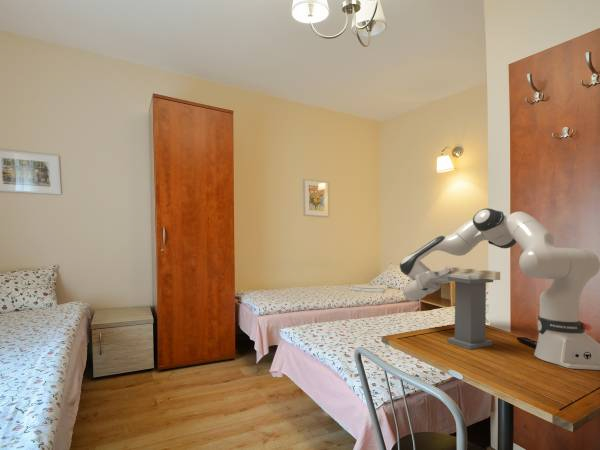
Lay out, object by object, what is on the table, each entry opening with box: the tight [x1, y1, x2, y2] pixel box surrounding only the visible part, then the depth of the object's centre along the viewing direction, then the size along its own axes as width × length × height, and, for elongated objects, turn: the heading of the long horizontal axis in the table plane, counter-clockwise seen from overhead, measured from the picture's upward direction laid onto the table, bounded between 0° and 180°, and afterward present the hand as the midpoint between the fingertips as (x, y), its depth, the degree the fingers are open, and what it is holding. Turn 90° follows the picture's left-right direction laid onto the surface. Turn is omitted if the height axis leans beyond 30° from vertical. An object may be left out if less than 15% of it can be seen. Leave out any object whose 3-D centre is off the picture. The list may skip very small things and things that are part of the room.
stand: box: [446, 273, 494, 350], centre depth 138 cm, size 10×14×27 cm
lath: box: [444, 266, 501, 281], centre depth 142 cm, size 22×3×3 cm, turn 28°
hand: (453, 269), depth 150 cm, fingers closed on lath, 3 cm apart
